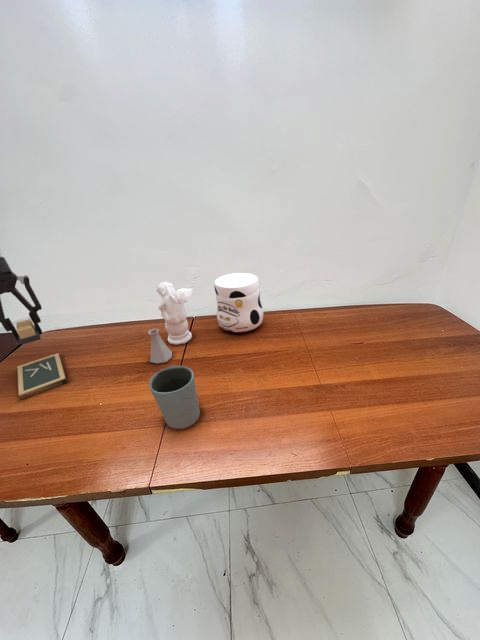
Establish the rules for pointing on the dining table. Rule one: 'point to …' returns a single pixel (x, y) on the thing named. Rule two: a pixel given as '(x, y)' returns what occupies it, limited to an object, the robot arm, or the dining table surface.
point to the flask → (158, 348)
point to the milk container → (238, 302)
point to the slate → (40, 375)
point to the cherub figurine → (175, 312)
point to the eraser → (27, 332)
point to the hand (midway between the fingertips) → (29, 335)
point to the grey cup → (176, 396)
